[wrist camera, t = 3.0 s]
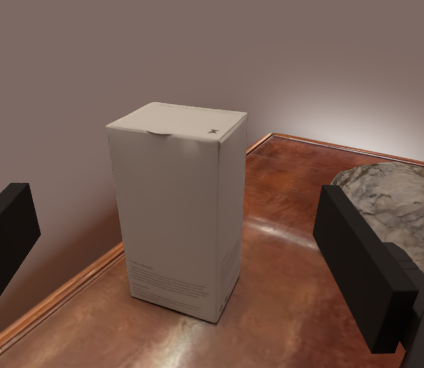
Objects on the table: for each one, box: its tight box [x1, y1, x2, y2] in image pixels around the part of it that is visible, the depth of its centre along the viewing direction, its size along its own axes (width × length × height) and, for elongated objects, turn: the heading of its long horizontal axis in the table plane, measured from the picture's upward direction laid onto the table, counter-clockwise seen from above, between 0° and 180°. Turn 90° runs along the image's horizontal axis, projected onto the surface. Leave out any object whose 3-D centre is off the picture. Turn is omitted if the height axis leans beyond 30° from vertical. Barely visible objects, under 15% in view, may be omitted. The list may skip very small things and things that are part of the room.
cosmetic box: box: [106, 102, 248, 323], centre depth 28 cm, size 8×7×16 cm
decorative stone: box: [330, 162, 424, 273], centre depth 35 cm, size 20×14×10 cm
